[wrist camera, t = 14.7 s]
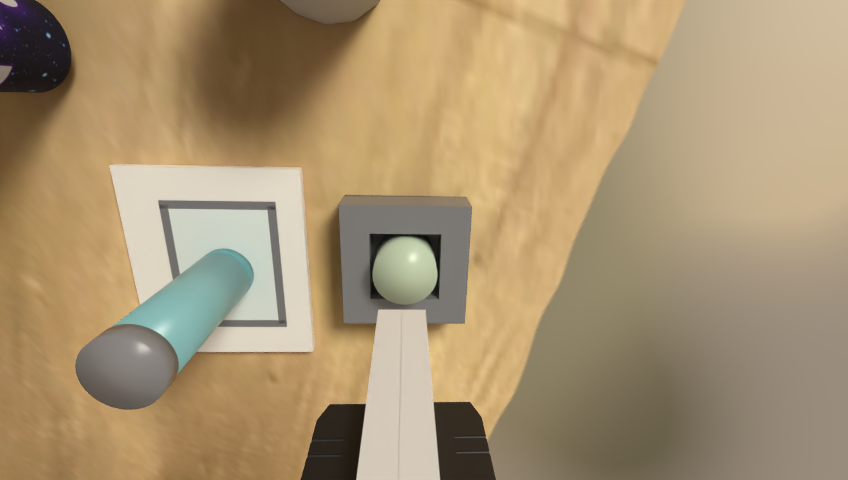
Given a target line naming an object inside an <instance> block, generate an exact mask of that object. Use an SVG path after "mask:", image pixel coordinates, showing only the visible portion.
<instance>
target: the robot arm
mask: <svg viewBox="0 0 848 480" xmlns="http://www.w3.org/2000/svg"><path fill="white" fill-rule="evenodd" d="M301 480H496V478H495V475H494V470H493V465H492V461H491V456H490V454H489V448H488V443H487V439H486V435H485V430H484V426H483V421H482V417H481V416H480V415H479V413H478V412H477V411H476V409H475V408H474V407H473V405H472V404H471V403H470V402H433V391H432V379H431V368H430V356H429V344H428V332H427V321H426V310H378V315H377V323H376V331H375V339H374V346H373V354H372V362H371V370H370V377H369V385H368V393H367V401H366V404H330V405H329V406H328V407H327V408H326V410H325V411H324V412H323V413H322V415H321V416H320V417H319V418H318V420H317V422H316V426H315V429H314V433H313V437H312V442H311V444H310V448H309V451H308V457H307V459H306V462H305V466H304V470H303V474H302V477H301Z"/></svg>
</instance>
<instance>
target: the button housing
mask: <svg viewBox="0 0 848 480" xmlns="http://www.w3.org/2000/svg"><path fill="white" fill-rule="evenodd" d="M471 215H472V206H471V204H470V203H469V201H468V199H467V198H466V197H432V196H365V195H345V196H344V198H343V199H342V201H341V202H340V204H339V225H340V248H341V270H342V293H343V316H344V323H377V315H378V310H426V321H427V323H440V324H465V311H466V295H467V279H468V263H469V247H470V231H471ZM390 234H421V235H422V236H424V237H425V238H426V239H427V240H428V241H429V243H430V244H431V246H432V248H433V251H434V256H435V261H436V267H437V282H436V285H435V287H434V289H433V291H432V292H431V293H430V294H429V295H428V296H427V297H426V298H425V299H423V300H421V301H419V302H417V303H414V304H408V305H402V304H396V303H393V302H390V301H388V300H387V299H385V298H384V297H383V296H382V295H381V294H380V293H379V292H378V291H377V289H376V287H375V285H374V282H373V276H372V275H373V267H374V262H375V258H376V253H377V249H378V247H379V245H380V243H381V242H382V241H383V240H384V238H386V237H387V236H388V235H390Z"/></svg>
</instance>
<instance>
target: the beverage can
mask: <svg viewBox="0 0 848 480" xmlns="http://www.w3.org/2000/svg"><path fill="white" fill-rule="evenodd" d="M70 64H71V50H70V45H69V41H68V38H67V36H66V34H65V31H64V30H63V28H62V26H61V24H60V23H59V22H58V20H57V19H56V18H55V17H54V15H53V14H52V13H51V12H50V11H49V10H48V9H46V8H45V7H44V6H43V5H41V4H40V3H38V2H37V1H35V0H0V92H35V93H38V92H46V91H49V90H52V89H54V88H55V87H57V86H58V85H60V84H61V83H62V82H63V80H64V79H65V78H66V76H67V74H68V72H69V69H70Z"/></svg>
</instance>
